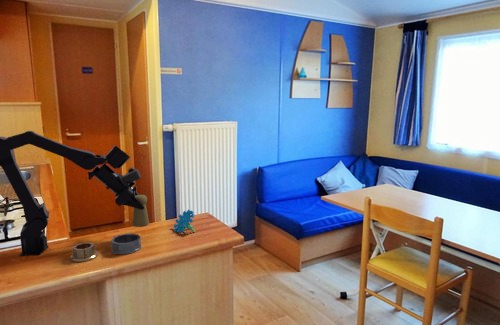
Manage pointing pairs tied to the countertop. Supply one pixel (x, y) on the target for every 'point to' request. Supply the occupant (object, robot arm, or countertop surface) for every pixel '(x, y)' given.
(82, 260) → the small collar
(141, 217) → the cork
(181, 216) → the gear
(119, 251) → the fitting collar
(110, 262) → the countertop surface
